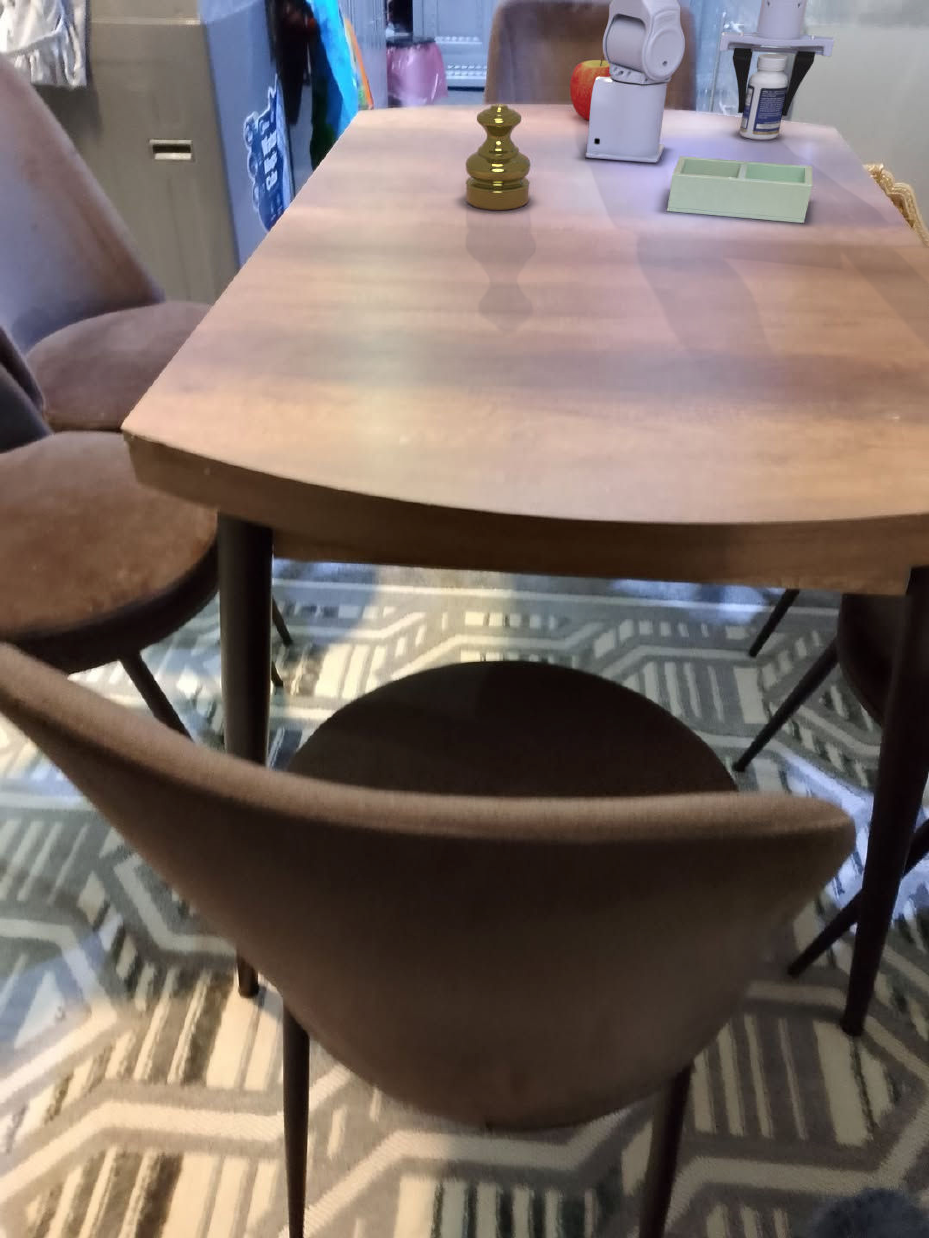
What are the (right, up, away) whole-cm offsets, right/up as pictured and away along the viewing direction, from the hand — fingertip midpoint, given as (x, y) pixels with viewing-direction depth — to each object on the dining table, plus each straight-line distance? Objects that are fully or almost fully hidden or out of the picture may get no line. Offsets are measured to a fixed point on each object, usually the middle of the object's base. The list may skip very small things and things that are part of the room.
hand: (762, 113), depth 127 cm
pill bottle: (0, -2, +2) cm, 3 cm away
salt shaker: (-38, -22, -21) cm, 49 cm away
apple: (-22, +4, +9) cm, 24 cm away
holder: (-10, -23, -23) cm, 34 cm away
